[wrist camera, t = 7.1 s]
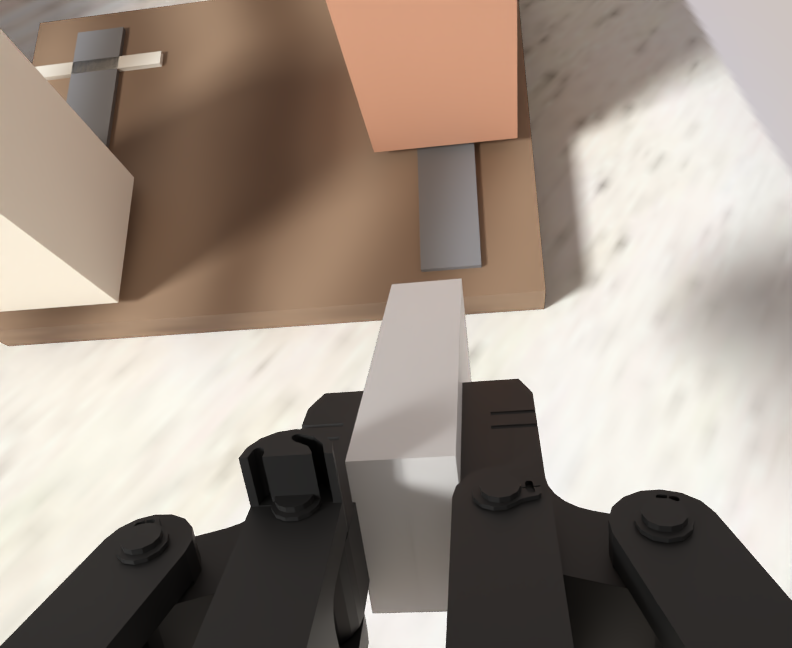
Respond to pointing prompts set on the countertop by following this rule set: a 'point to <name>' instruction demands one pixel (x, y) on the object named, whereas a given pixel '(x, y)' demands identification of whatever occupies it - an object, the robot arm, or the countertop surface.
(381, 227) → the walnut track board
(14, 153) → the tall white pillar
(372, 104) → the tall salmon pillar
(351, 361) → the countertop surface
